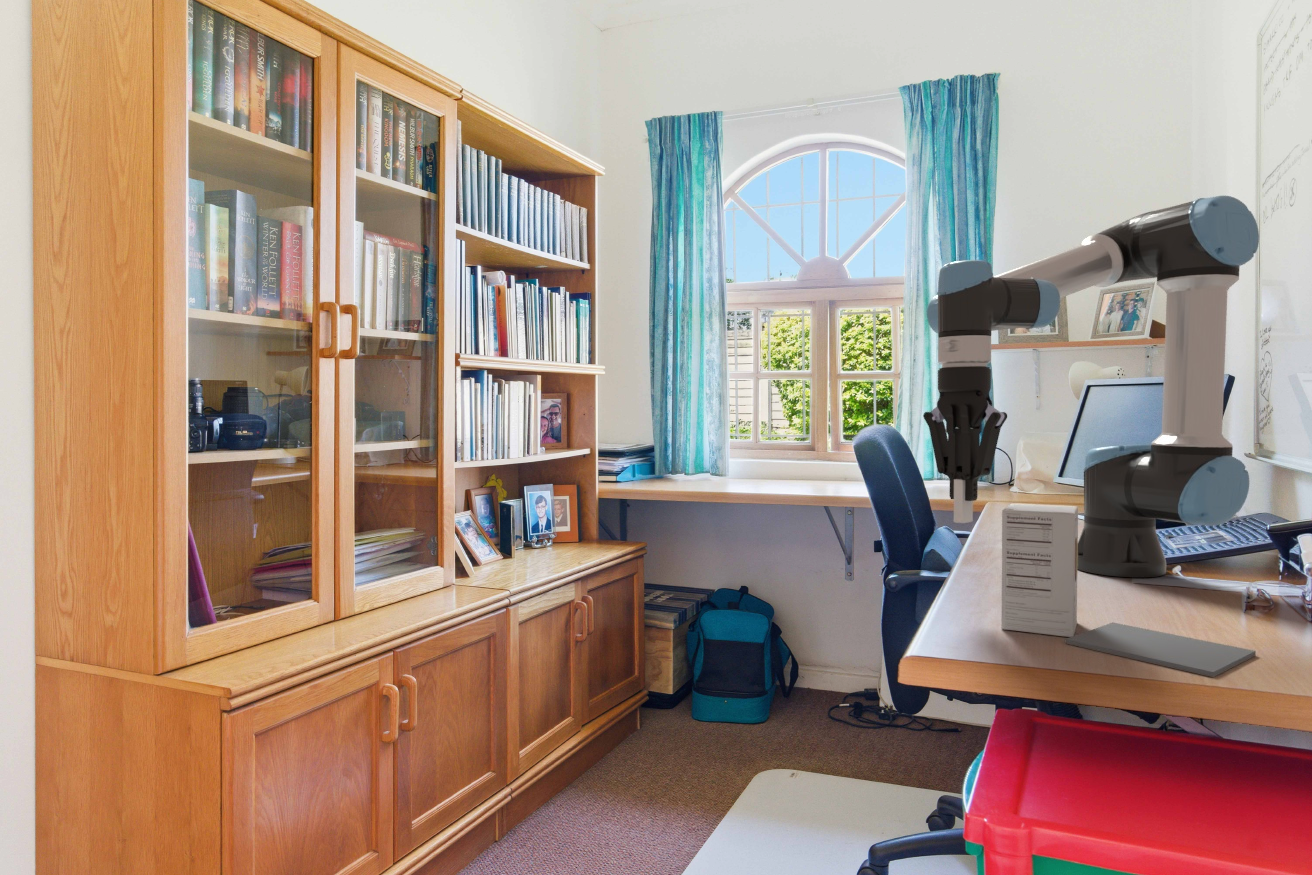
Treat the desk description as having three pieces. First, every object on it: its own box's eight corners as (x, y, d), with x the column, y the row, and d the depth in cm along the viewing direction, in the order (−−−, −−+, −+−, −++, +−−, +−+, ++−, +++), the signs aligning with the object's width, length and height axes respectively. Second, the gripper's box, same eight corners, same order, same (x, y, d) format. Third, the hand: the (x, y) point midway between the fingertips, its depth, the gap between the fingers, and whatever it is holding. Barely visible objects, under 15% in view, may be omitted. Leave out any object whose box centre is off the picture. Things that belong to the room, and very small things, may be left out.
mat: (1112, 626, 116) (1112, 622, 116) (1255, 655, 103) (1255, 650, 103) (1065, 643, 109) (1065, 638, 109) (1213, 677, 95) (1213, 671, 95)
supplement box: (1074, 638, 111) (1076, 512, 110) (1000, 630, 115) (1001, 509, 115) (1077, 621, 119) (1079, 504, 118) (1008, 614, 124) (1009, 501, 123)
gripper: (912, 367, 128) (911, 519, 129) (989, 363, 118) (988, 529, 119) (941, 368, 133) (940, 515, 134) (1018, 364, 122) (1017, 524, 123)
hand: (963, 521), depth 126 cm, fingers closed
